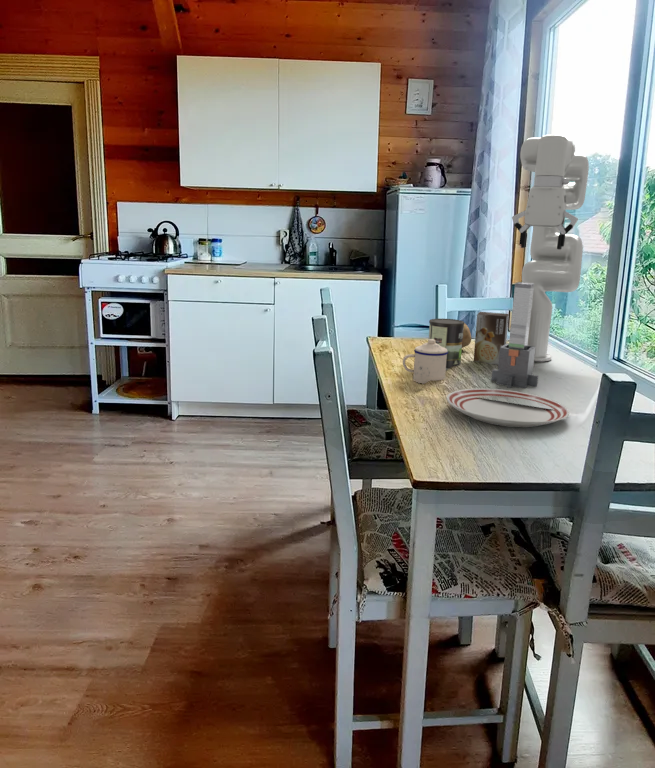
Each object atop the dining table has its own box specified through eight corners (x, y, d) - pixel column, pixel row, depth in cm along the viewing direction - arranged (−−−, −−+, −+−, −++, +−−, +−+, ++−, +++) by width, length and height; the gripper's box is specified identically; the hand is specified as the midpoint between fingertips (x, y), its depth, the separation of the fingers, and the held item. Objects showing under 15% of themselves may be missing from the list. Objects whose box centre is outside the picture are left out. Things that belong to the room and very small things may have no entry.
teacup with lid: (443, 378, 181) (447, 337, 178) (447, 386, 172) (450, 343, 169) (401, 376, 182) (403, 335, 179) (402, 384, 173) (404, 341, 170)
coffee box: (505, 364, 200) (510, 313, 196) (502, 368, 194) (507, 316, 190) (475, 361, 203) (480, 311, 199) (472, 365, 198) (476, 313, 194)
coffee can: (460, 364, 198) (464, 319, 195) (460, 372, 189) (464, 324, 185) (427, 362, 200) (430, 317, 197) (425, 369, 191) (428, 322, 187)
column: (510, 360, 174) (518, 282, 168) (525, 362, 172) (534, 283, 167) (506, 363, 170) (514, 283, 164) (521, 365, 168) (530, 284, 162)
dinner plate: (508, 394, 166) (510, 382, 166) (595, 426, 143) (597, 411, 142) (422, 406, 154) (422, 392, 153) (501, 442, 131) (502, 426, 130)
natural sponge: (441, 346, 226) (444, 318, 224) (467, 347, 226) (469, 319, 223) (444, 351, 217) (447, 322, 215) (471, 352, 217) (474, 323, 214)
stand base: (496, 380, 180) (500, 341, 178) (540, 386, 175) (545, 346, 172) (485, 389, 170) (489, 348, 167) (531, 396, 165) (536, 353, 162)
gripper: (584, 184, 173) (575, 249, 177) (518, 184, 181) (512, 246, 185) (580, 183, 166) (571, 250, 171) (512, 182, 174) (506, 247, 179)
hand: (541, 248), depth 178 cm, fingers open, 9 cm apart
